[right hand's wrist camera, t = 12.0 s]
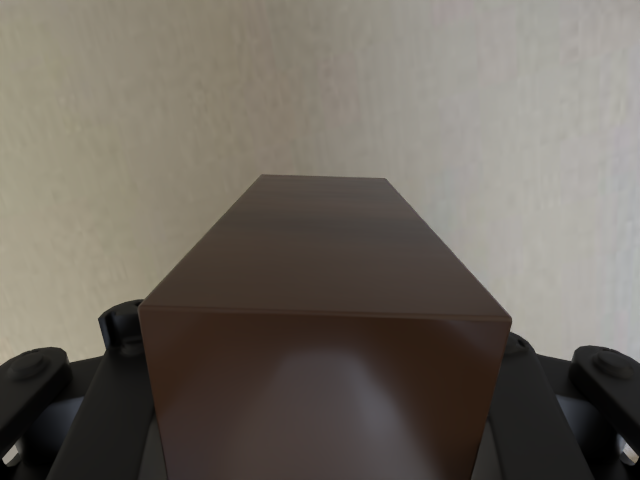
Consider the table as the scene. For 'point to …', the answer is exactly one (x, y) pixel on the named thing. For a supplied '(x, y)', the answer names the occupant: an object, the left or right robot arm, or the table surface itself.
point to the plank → (321, 341)
